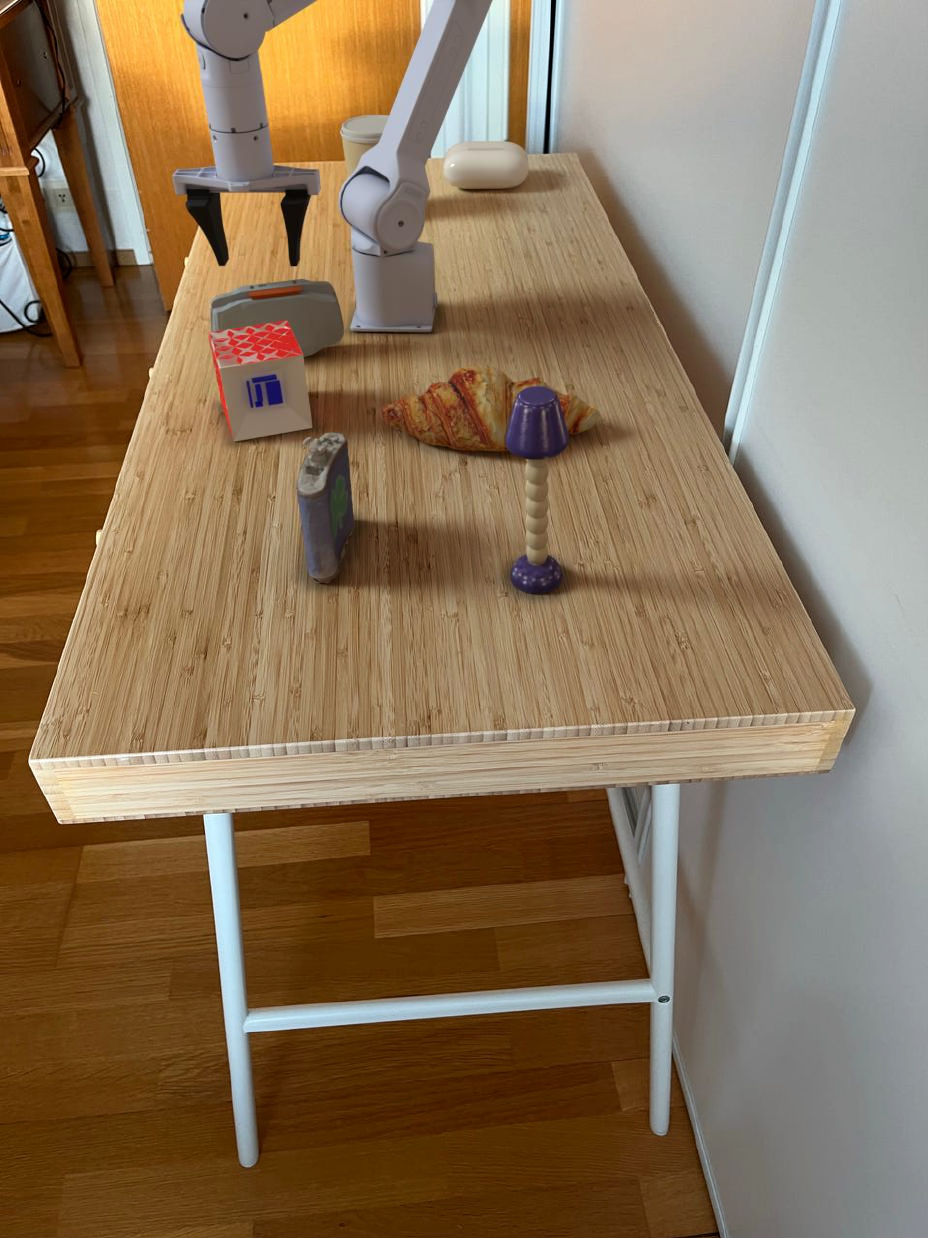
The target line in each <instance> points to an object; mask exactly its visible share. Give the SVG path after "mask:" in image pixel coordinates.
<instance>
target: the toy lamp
mask: <svg viewBox="0 0 928 1238" xmlns="http://www.w3.org/2000/svg"><path fill="white" fill-rule="evenodd" d="M550 388H551V387H550ZM550 388H548V387H543V386H532V387H527V388H525V389H523V390H521V391H520V392H519V393H518V394H517V396H516V399H515V402H514V405H513V409H512V413H511V416H510V420H509V424H508V427H507V431H506V436H505V443H506V446H507V448H508V451H509V452H510V453H511V454H513V455H514V456H516V457H519V458H522V459H524V460H526V465H525V468H524V473H525V478H526V481H525V486H524V487H525V488H524V489H525V490H524V491H525V494H526V498H525V502H524V507H525V511H526V516H525V527H526V533H525V540H526V543H527V544H526V545H527V546H526V549H525V554H522V555H521V556H520V557H518V558H517V560H516V561H515V562H514V563H513V564H512V568H511V570H510V577H509V578H510V581H511V583H512V585H513V586H514V587H515V588H516V589H517V590H520V591H521V592H524V593H527V594H536V595H540V594H547V593H550V592H553V591H554V590H556V589H557V588H559V586H560V585H561V583H562V581H563V570H562V568H561V566H560V564H559V562H558V561H557V559H556V558H554V557H553V556H552V555H550V554H549V550H548V546H547V544H548V541H549V534H548V533H549V532H548V530H547V529H548V527H549V516H548V511H549V499H548V494H549V482H548V481H547V480H548V478H549V476H550V475H549V474H550V468H549V465H548V461H549V460H550V459H551V458H554V457H556V456H557V457H558V456H559V455H560V454H562V453H563V452H564V451H565V450H566V449H567V447H568V445H569V442H570V441H569V440H570V437H569V434H568V431H567V427H566V423H565V419H564V416H563V412H562V409H561V405H560V401H559V398H558V396H557V394H556V393H555V392H554V391H553V390H552V389H553V388H552V389H550Z"/></svg>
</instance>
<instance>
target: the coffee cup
mask: <svg viewBox="0 0 928 1238" xmlns="http://www.w3.org/2000/svg"><path fill="white" fill-rule="evenodd" d="M388 118H389V115H388V114H387V115H386V114H367V115H360V116H359V115H358V116H354V117H351V118H348V119H346V120H345V121H344V122H342V124H341V128H340V130H339V134H340V137H341V141H342V147H343V157H344V163H345V169H346V170H345V171H346V175H347V177H346V178H348V177H349V176H350V175H351V174H352V173H353V172H354V171H355V169H356V168H357V166H358V164H359V161H360V159H361V156H362V155H363V154H364V153H366V152H367V151H368V150H370V149H371V148H373V147H374V146H375V145H377V144H378V143H379V141H380V138H381V136H382V133H383V131H384V128H385V125H386V123H387V120H388Z"/></svg>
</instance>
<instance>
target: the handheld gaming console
mask: <svg viewBox="0 0 928 1238" xmlns="http://www.w3.org/2000/svg"><path fill="white" fill-rule="evenodd" d="M209 303H210V308H209V310H210V311H209V312H210V314H209V315H210V316H209V317H210V332H214V331H221V330H228V329H234V328H241V327H248V326H254V325H261V324H267V323H274V322H281V321H288V323H289V325H290V327H291V329H292V332H293V334H294V336H295V338H296V340H297V343H298V345H299V347H300V349H301V351H302V353H303V356H304V358H305V357H310V356H313V355H315V354H316V353H318V352H319V351H321V350H322V349H324V348H326V347H329V346H332V345H335V344H337V343H340V342H341V340H342V339H343V337H344V334H345V327H344V326H345V325H344V319H343V314H342V309H341V307H340V303H339V298H338V295H337V292H336V290H335V288H334V286H333V284H332V283H331V282H329V281H327V280H314V281H313V280H310V279H305V278H299V279H298V278H297V279H290V280H281V281H272V282H265V283H257V284H248V285H241V286H238V287H236V288H234V289H232V290H231V291H229V292H224V293H220V294H217V295H215V296H214V297H212V298H211V300H210V302H209Z"/></svg>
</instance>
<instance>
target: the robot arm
mask: <svg viewBox="0 0 928 1238" xmlns="http://www.w3.org/2000/svg"><path fill="white" fill-rule="evenodd" d="M493 1H494V0H433V1H432V4H431V7H430V8H429V11H428V14H427V17H426V19H425V21H424V24H423V27H422V30H421V32H420V35H419V37H418V40H417V42H416V45H415V48H414V51H413V53H412V56H411V58H410V61H409V63H408V66H407V69H406V71H405V73H404V76H403V78H402V81H401V84H400V86H399V89H398V92H397V95H396V97H395V99H394V102H393V105H392V108H391V110H390V113H389V115H388V116H389V118H388V120H387V123H386V125H385V128H384V131H383V133H382V136H381V138H380V141H379V143H378V144H377V145H375V146H374V147H373V148H371V149H370V150H368V151H367V152H366V153H364V154H363V155H362V156H361V159H360V161H359V164H358V166H357V168H356V169H355V171H354V172H353V173H352V174H351V175H350V176H349V177H346V179H345V180H344V182H342V185H341V187H340V189H339V192H338V199H337V205H338V210H339V214H340V215H341V218H342V219H343V220H344V222H345V223H347V224H348V225H349V226H350V234H351V235H350V246H351V248H350V249H351V257H352V259H351V260H352V270H353V280H354V281H353V282H354V293H355V303H356V307H355V310H354V313H353V316H352V319H351V322H350V325H349V328H350V331H351V332H373V333H374V332H376V333H378V332H383V333H430V332H432V331H433V326H434V320H435V314H436V310H437V308H438V293H437V291H436V264H435V263H436V261H435V247H434V244H433V243H432V242H425V241H420V240H419V239H420V238H421V236H422V234H423V231H424V227H425V222H426V206H427V203H428V200H429V198H430V195H431V187H430V182H429V179H428V174H427V171H426V166H427V163H428V160H429V158H430V155H431V153H432V150H433V149H434V145H435V143H436V140H437V139H438V136H439V133H440V131H441V128H442V126H443V123H444V121H445V118H446V116H447V113H448V112H449V109H450V106H451V103H452V101H453V99H454V96H455V94H456V91H457V89H458V87H459V84H460V82H461V79H462V77H463V74H464V72H465V69H466V67H467V64H468V62H469V59H470V57H471V54H472V52H473V50H474V47H475V45H476V43H477V40H478V37H479V35H480V32H481V30H482V27H483V25H484V23H485V20H486V18H487V16H488V13H489V10H490V8H491V6H492V3H493ZM315 2H318V0H183V7H182V8H183V13H180V20H181V24H182V27H183V28H184V31H186V33H187V35H188V36H189V38H190V39H192V41H194V43H195V48H196V55H197V61H198V66H199V76H200V77H199V78H200V83H201V89H202V94H203V99H204V100H203V101H204V106H205V111H206V118H207V123H208V124H207V125H208V129H209V134H210V135H209V136H210V139H211V140H210V141H211V147H212V153H213V158H214V159H213V160H214V164H215V165H213V166H204V167H203V166H202V167H194V168H177V169H176V170H175V171H174V173H172V176H171V177H172V181H173V186H174V192H175V195H176V196H186V201H185V208H186V210H187V213H188V214H189V215H190V216H191V217H192V218H193V219H194V221H195V222H196V224H197V225H198V227H199V228H200V230H201V231H202V233H203V235H204V236H205V238H206V240H207V242H208V243H209V246H210V248H211V250H212V252H213V255H214V257H215V259H216V262H217V265H218V266H219V267H226V265H227V263H228V262H229V260H230V254H229V246H228V242H227V237H226V232H225V228H224V227H225V226H224V220H223V213H222V200H221V199H222V198H221V194H228V193H230V194H234V193H235V194H236V193H237V194H252V193H253V194H284V196H283V197H282V199H281V201H280V203H279V204H280V209H281V214H282V217H283V218H282V219H283V221H284V226H285V233H286V239H287V250H288V251H287V252H288V261H289V265H290V267H298V266H299V264H300V261H301V242H302V241H301V240H302V234H303V227H304V222H305V220H306V219H305V218H306V215H307V212H308V207H309V203H310V201H311V198H312V196H319V194H320V192H321V190H322V184H321V176H320V175H321V174H320V168H319V169H318V168H303V167H294V166H288V165H287V166H286V165H277V164H275V163H274V155H273V148H272V139H271V135H270V134H271V132H270V126H269V125H270V124H269V120H268V111H267V105H266V96H265V89H264V81H263V76H262V75H263V74H262V70H261V64H260V55H259V50H260V49H261V47H262V44H263V42H264V40H265V37H266V34H267V32H270V31H271V30H273V29H274V28H277V27H278V26H279V25H281V24H282V23H284V22H285V21H288V19H290V18H292V17H293V16H295V15H297V14H298V13H300V12H301V11H303V10H305V9H307V7H310V6H311V5H313V4H315Z"/></svg>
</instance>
